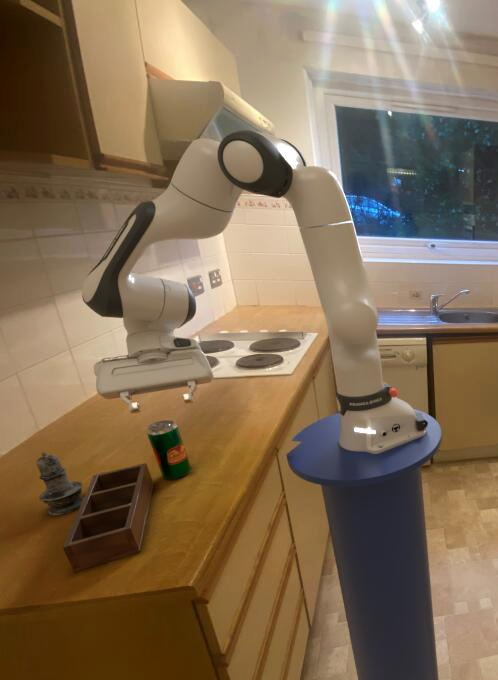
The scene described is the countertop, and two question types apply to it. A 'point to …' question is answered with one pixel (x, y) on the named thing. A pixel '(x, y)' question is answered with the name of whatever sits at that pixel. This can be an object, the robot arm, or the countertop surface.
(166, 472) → the soda can
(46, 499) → the grey stacked stone piece
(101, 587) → the countertop surface
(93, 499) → the wooden compartment tray
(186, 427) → the countertop surface
